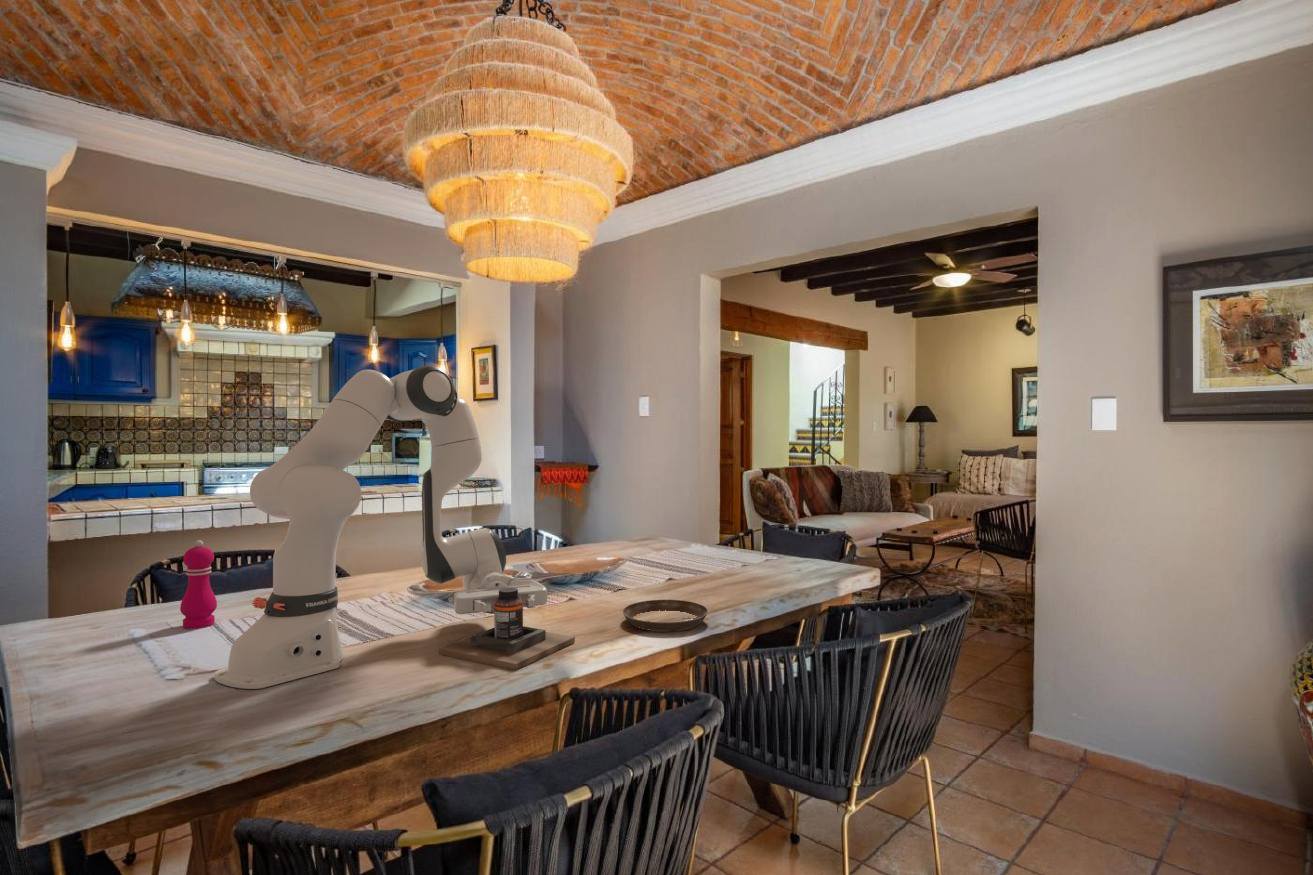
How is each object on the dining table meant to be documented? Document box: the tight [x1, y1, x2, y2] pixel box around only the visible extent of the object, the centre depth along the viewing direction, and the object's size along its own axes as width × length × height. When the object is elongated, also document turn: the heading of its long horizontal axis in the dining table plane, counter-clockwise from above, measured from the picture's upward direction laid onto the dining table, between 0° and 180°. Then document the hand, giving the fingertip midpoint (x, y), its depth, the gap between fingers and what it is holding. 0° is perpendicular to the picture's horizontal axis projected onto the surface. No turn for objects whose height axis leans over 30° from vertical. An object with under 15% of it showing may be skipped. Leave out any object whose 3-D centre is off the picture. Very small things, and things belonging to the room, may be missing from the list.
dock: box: [438, 625, 576, 671], centre depth 147 cm, size 20×20×3 cm
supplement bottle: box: [493, 587, 524, 641], centre depth 147 cm, size 6×6×11 cm
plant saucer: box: [622, 599, 709, 633], centre depth 168 cm, size 21×21×3 cm
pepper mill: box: [179, 539, 218, 629], centre depth 163 cm, size 7×7×20 cm
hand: (510, 606), depth 146 cm, fingers open, 8 cm apart
